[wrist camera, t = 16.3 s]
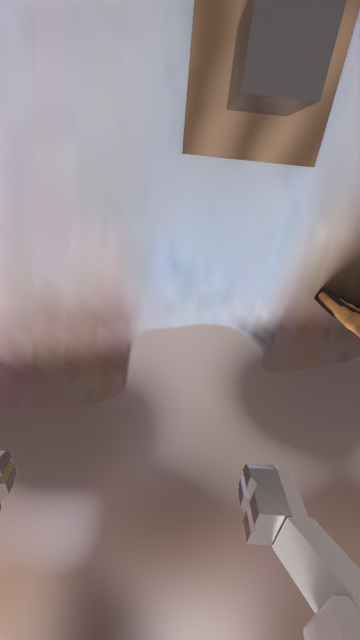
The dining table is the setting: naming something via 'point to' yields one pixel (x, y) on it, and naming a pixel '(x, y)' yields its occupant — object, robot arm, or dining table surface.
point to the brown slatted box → (340, 309)
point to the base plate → (243, 127)
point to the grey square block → (283, 55)
